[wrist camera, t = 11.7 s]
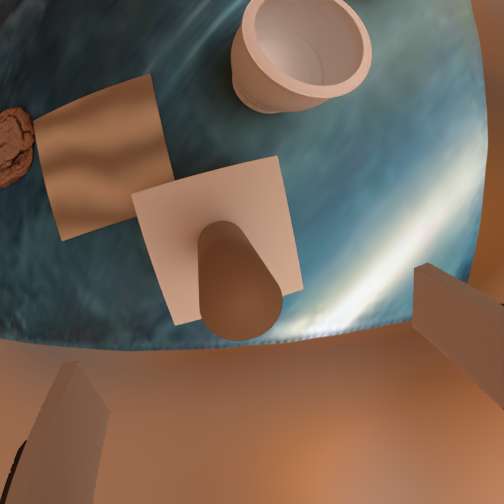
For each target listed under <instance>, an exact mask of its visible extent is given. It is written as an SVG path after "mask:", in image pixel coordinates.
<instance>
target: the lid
mask: <svg viewBox="0 0 504 504" xmlns="http://www.w3.org/2000/svg"><path fill="white" fill-rule="evenodd" d="M131 197H132V200H133V204H134V207H135V211H136V214H137V218H138V221H139V224H140V227H141V231H142V234H143V237H144V240H145V243H146V246H147V249H148V252H149V255H150V258H151V261H152V264H153V267H154V270H155V273H156V276H157V279H158V281H159V284H160V287H161V290H162V292H163V295H164V298H165V300H166V303H167V306H168V308H169V311H170V314H171V316H172V319H173V321H174V324H175V325H179V324H183V323H187V322H191V321H195V320H199V319H202V320H203V322H204V324H205V325H206V326H207V328H208V329H209V330H210V331H211V332H213V333H214V334H216V335H217V336H219V337H221V338H224V339H227V340H232V341H244V340H250V339H253V338H256V337H258V336H260V335H262V334H263V333H265V332H266V331H268V330H269V329H270V328H271V327H272V326H273V325H274V323H275V322H276V321H277V319H278V317H279V315H280V313H281V309H282V304H283V298H282V296H284V295H287V294H290V293H294V292H297V291H300V290H303V283H302V278H301V272H300V266H299V261H298V255H297V250H296V245H295V239H294V234H293V229H292V224H291V219H290V214H289V209H288V204H287V199H286V194H285V189H284V184H283V180H282V175H281V170H280V166H279V161H278V157H277V156H272V157H267V158H262V159H258V160H253V161H249V162H245V163H240V164H236V165H232V166H228V167H224V168H220V169H216V170H212V171H208V172H204V173H201V174H197V175H193V176H190V177H186V178H182V179H179V180H175V181H172V182H168V183H165V184H162V185H158V186H155V187H152V188H148V189H145V190H142V191H139V192H136V193H133V194H131Z"/></svg>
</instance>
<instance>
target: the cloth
mask: <svg viewBox="0 0 504 504" xmlns="http://www.w3.org/2000/svg"><path fill="white" fill-rule="evenodd" d="M33 124H34V131H35V137H36V143H37V148H38V153H39V158H40V163H41V168H42V172H43V177H44V181H45V185H46V189H47V193H48V197H49V200H50V204H51V208H52V211H53V215H54V218H55V221H56V225H57V228H58V231H59V234H60V237H61V240H62V241H64V240H67V239H70V238H73V237H76V236H79V235H81V234H84V233H87V232H90V231H93V230H96V229H99V228H102V227H105V226H108V225H111V224H114V223H118V222H121V221H124V220H127V219H130V218H133V217H137V214H136V211H135V207H134V204H133V200H132V197H131V194H133V193H136V192H139V191H142V190H145V189H148V188H152V187H155V186H158V185H162V184H165V183H168V182H172V181H175V178H174V174H173V171H172V167H171V162H170V158H169V154H168V150H167V146H166V142H165V138H164V133H163V129H162V125H161V120H160V116H159V111H158V106H157V102H156V97H155V92H154V87H153V83H152V78H151V74H147V75H143V76H140V77H137V78H134V79H131V80H128V81H125V82H122V83H119V84H116V85H113V86H111V87H108V88H105V89H103V90H100V91H97V92H95V93H92V94H90V95H87V96H85V97H83V98H80V99H78V100H76V101H73V102H71V103H69V104H67V105H64V106H62V107H60V108H58V109H56V110H54V111H52V112H50V113H48V114H46V115H44V116H42V117H40V118H38V119H36V120H34V121H33Z"/></svg>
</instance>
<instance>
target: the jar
mask: <svg viewBox="0 0 504 504" xmlns="http://www.w3.org/2000/svg"><path fill="white" fill-rule="evenodd" d="M371 61H372V47H371V42H370V38H369V35H368V32H367V30H366V28H365V26H364V24H363V22H362V21H361V19H360V18H359V16H358V15H357V14H356V13H355V11H354V10H353V9H352V8H351V7H350V6H349V5H348V4H347V3H345V2H344V1H343V0H251V1H250V3H249V4H248V6H247V7H246V9H245V11H244V14H243V17H242V21H241V26H240V27H239V29H238V31H237V33H236V35H235V38H234V41H233V44H232V49H231V66H232V84H233V88H234V90H235V93H236V94H237V96H238V98H239V99H240V100H241V101H242V102H243V103H244V104H245V105H246V106H248V107H249V108H251V109H253V110H255V111H257V112H261V113H266V114H274V113H279V112H296V111H302V110H307V109H310V108H313V107H315V106H318V105H320V104H322V103H324V102H325V101H327V100H329V99H330V98H334V97H338V96H341V95H344V94H347V93H349V92H351V91H352V90H354V89H355V88H357V87H358V86H359V85H360V84H361V83H362V82H363V80H364V79H365V77H366V76H367V74H368V72H369V69H370V66H371Z"/></svg>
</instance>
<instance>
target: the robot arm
mask: <svg viewBox="0 0 504 504" xmlns="http://www.w3.org/2000/svg"><path fill="white" fill-rule="evenodd" d="M412 326H413V327H414V328H415V329H416V330H417V331H418V332H419V333H421V334H422V335H423V336H424V337H425V338H426V339H427V340H429V341H430V342H431V343H432V344H433V345H434V346H435V347H436V348H438V349H439V350H440V351H441V352H442V353H443V354H444V355H445V356H447V357H448V358H449V359H450V360H451V361H452V362H453V363H454V364H455V365H456V366H458V367H459V368H460V369H461V370H462V371H463V372H464V373H465V374H466V375H467V376H469V378H471V379H472V380H473V381H474V382H475V383H476V384H477V385H478V386H479V387H480V388H481V389H482V390H483V391H485V393H486V394H488V395H489V396H490V397H491V398H492V399H493V400H494V401H495V402H496V403H497V404H498V405H499V406H500V407H501V408H502V409H503V410H504V304H499V303H498V302H496V301H494V300H493V299H491V298H490V297H488V296H486V295H484V294H483V293H481V292H479V291H478V290H476V289H474V288H472V287H471V286H469V285H467V284H466V283H464V282H462V281H460V280H459V279H457V278H455V277H453V276H451V275H450V274H448V273H446V272H444V271H442V270H441V269H439V268H437V267H435V266H433V265H431V264H429V263H426V264H423V265H421V266H418V267H416V268H414V293H413V314H412ZM110 413H111V410H110V409H109V408H108V406H107V404H106V403H105V402H104V400H103V399H102V397H101V396H100V394H99V393H98V391H97V390H96V388H95V387H94V385H93V384H92V382H91V380H90V379H89V377H88V376H87V374H86V373H85V371H84V370H83V368H82V366H81V364H80V363H79V361H74V362H67V363H63V365H62V367H61V369H60V371H59V372H58V374H57V376H56V378H55V380H54V382H53V384H52V386H51V388H50V390H49V392H48V395H47V397H46V399H45V401H44V403H43V405H42V407H41V410H40V412H39V414H38V416H37V418H36V421H35V423H34V425H33V428H32V430H31V432H30V435H29V437H28V439H27V440H26V441H25V442H24V443H23V444H22V446H21V447H20V448H19V449H18V451H17V454H16V457H15V459H14V464H13V465H12V467H11V470H10V471H11V473H9V475H8V478H7V481H6V484H5V487H4V490H3V493H2V497H1V500H0V504H93V499H94V492H95V486H96V480H97V474H98V469H99V464H100V459H101V454H102V449H103V444H104V439H105V435H106V430H107V426H108V422H109V417H110Z"/></svg>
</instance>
